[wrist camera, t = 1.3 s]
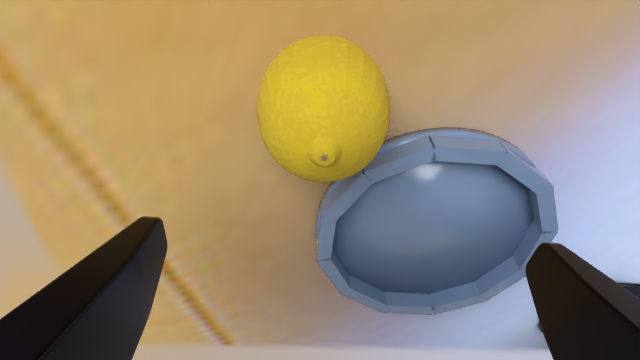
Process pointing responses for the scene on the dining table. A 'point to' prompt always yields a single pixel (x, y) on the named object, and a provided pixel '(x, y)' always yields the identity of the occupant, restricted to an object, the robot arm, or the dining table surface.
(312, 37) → the lemon
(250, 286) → the dining table surface
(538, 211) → the light blue round dish
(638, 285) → the robot arm
